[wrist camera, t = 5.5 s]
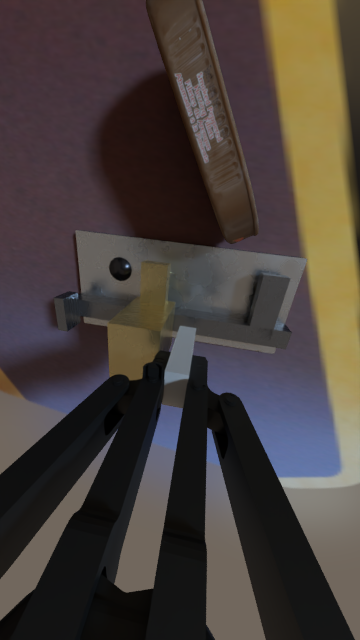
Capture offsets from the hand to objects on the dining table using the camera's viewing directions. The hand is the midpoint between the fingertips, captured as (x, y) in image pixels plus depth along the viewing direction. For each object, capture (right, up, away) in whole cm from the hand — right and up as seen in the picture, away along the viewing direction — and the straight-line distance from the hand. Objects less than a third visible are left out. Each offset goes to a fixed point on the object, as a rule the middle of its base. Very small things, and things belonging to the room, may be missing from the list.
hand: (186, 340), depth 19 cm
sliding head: (-3, +4, +5) cm, 7 cm away
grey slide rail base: (-1, +4, +5) cm, 6 cm away
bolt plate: (0, +5, +5) cm, 7 cm away
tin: (+2, +17, 0) cm, 17 cm away
